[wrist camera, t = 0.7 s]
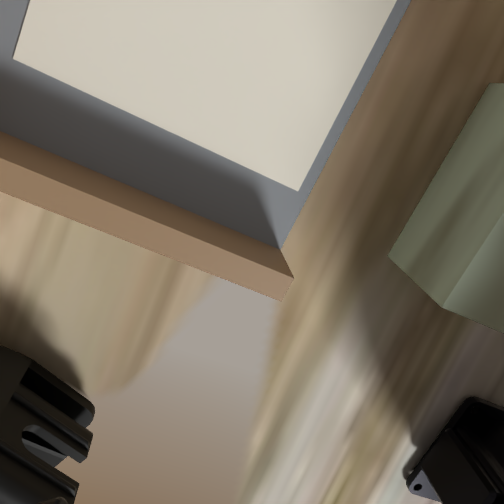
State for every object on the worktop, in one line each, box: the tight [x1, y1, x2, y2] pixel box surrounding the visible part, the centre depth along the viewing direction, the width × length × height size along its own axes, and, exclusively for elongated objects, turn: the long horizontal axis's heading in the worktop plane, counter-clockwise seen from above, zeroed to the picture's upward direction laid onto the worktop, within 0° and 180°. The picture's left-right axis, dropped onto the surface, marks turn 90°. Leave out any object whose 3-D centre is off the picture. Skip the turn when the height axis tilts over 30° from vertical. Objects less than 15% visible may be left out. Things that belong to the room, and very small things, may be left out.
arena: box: [0, 0, 411, 301], centre depth 15 cm, size 14×14×4 cm
